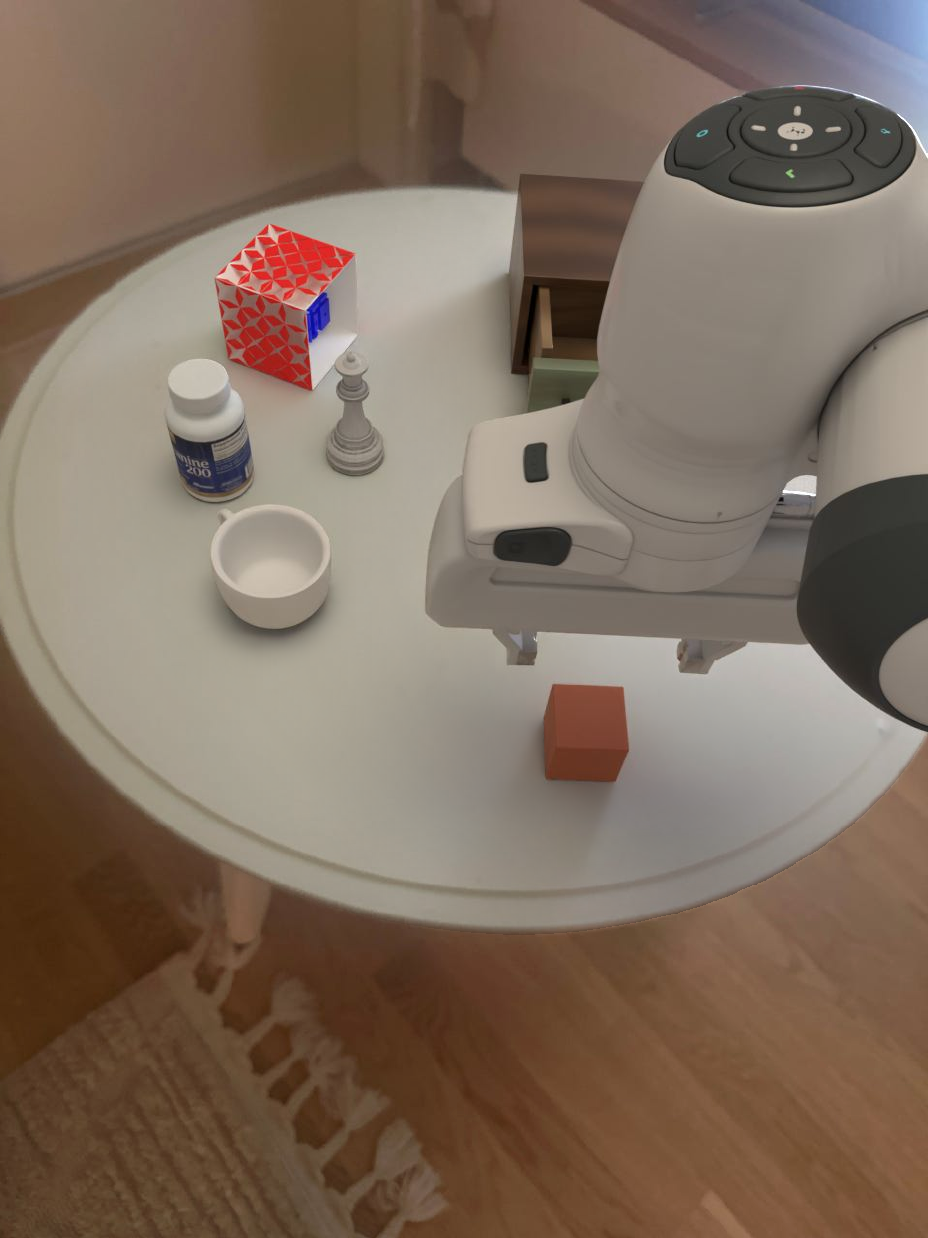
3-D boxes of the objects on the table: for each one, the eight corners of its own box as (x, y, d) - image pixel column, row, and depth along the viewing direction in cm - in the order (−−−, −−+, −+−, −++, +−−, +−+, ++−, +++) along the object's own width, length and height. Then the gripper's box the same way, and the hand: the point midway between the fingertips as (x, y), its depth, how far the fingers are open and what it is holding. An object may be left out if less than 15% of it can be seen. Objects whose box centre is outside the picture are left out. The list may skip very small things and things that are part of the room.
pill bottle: (166, 476, 73) (139, 376, 65) (223, 440, 76) (203, 339, 68) (213, 516, 71) (190, 418, 63) (269, 478, 74) (255, 379, 66)
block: (610, 720, 64) (623, 686, 60) (615, 782, 61) (629, 750, 58) (543, 717, 64) (552, 682, 60) (545, 779, 61) (555, 747, 58)
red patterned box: (278, 304, 85) (269, 222, 79) (358, 334, 84) (356, 253, 77) (227, 359, 81) (213, 277, 74) (311, 391, 79) (304, 311, 73)
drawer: (660, 493, 74) (685, 418, 68) (523, 486, 74) (535, 409, 67) (640, 345, 84) (661, 267, 77) (518, 339, 83) (529, 259, 77)
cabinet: (648, 380, 83) (675, 284, 75) (511, 373, 82) (523, 275, 74) (634, 279, 90) (657, 181, 82) (508, 271, 90) (520, 172, 82)
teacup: (357, 604, 68) (355, 556, 63) (266, 665, 65) (257, 619, 60) (271, 518, 72) (263, 467, 67) (181, 572, 68) (166, 522, 64)
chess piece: (336, 482, 74) (330, 381, 66) (319, 442, 76) (310, 339, 68) (391, 468, 75) (392, 367, 67) (373, 429, 77) (371, 326, 69)
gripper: (885, 449, 45) (782, 620, 56) (435, 421, 43) (423, 602, 55) (920, 559, 41) (802, 718, 52) (430, 532, 40) (419, 701, 51)
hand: (605, 659), depth 54 cm, fingers open, 8 cm apart
